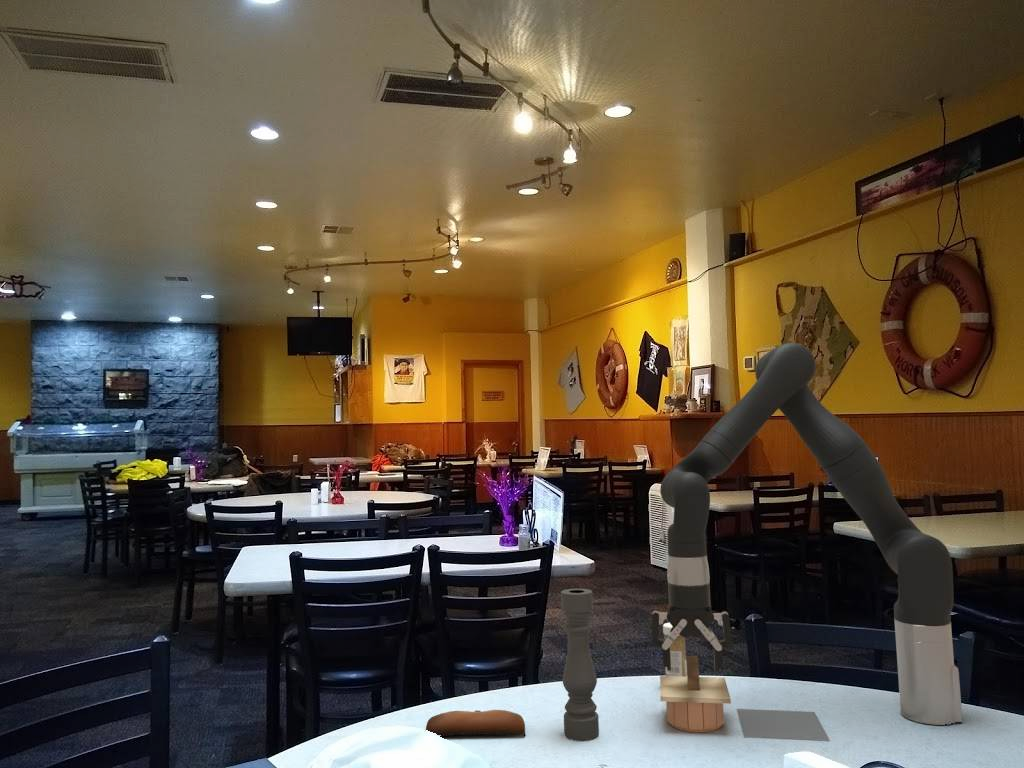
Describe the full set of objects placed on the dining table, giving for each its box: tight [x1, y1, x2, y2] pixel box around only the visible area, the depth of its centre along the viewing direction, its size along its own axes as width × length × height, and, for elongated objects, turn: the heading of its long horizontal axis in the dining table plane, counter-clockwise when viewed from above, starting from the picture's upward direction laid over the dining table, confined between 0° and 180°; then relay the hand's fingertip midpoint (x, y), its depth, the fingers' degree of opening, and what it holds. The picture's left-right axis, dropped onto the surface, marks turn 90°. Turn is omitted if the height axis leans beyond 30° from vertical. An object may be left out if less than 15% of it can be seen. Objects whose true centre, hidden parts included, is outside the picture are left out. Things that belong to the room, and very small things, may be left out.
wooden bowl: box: [665, 701, 725, 733], centre depth 138 cm, size 10×10×6 cm
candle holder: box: [560, 588, 600, 742], centre depth 136 cm, size 6×6×25 cm
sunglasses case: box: [425, 709, 526, 737], centre depth 138 cm, size 18×7×7 cm, turn 89°
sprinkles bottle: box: [662, 622, 687, 677], centre depth 157 cm, size 5×5×13 cm
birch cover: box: [659, 655, 732, 705], centre depth 138 cm, size 12×12×6 cm
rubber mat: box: [736, 708, 831, 742], centre depth 136 cm, size 14×14×1 cm
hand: (692, 669), depth 138 cm, fingers open, 8 cm apart
